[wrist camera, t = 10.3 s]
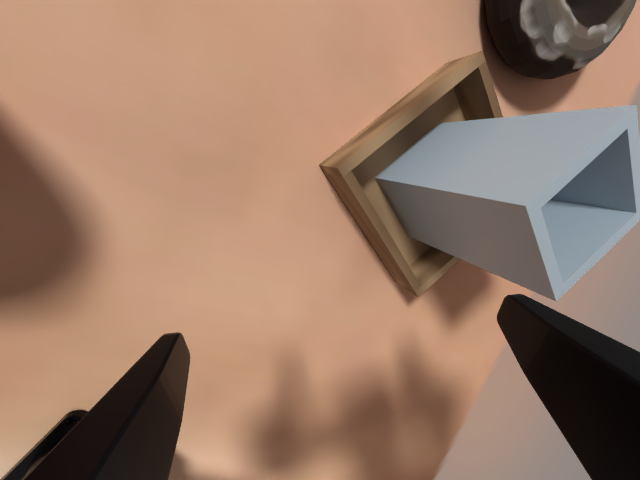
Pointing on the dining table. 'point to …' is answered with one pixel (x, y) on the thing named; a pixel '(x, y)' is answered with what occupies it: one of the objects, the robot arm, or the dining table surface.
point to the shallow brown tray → (390, 143)
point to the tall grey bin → (523, 192)
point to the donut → (554, 32)
